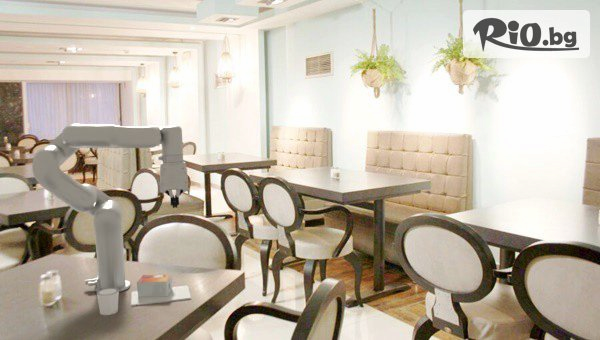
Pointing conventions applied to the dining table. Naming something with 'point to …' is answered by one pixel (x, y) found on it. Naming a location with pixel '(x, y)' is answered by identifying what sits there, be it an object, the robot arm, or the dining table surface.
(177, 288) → the mat
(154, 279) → the small box
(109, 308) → the shot glass
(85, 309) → the dining table surface
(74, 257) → the dining table surface
